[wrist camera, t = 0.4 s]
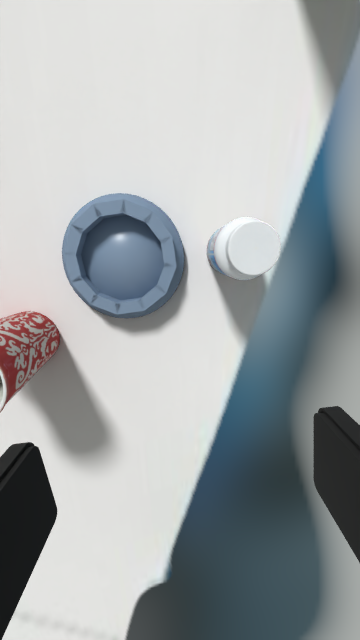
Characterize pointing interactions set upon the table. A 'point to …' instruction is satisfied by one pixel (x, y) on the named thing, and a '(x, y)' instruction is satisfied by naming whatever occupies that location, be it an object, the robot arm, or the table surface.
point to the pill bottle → (244, 248)
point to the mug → (24, 350)
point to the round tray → (123, 255)
